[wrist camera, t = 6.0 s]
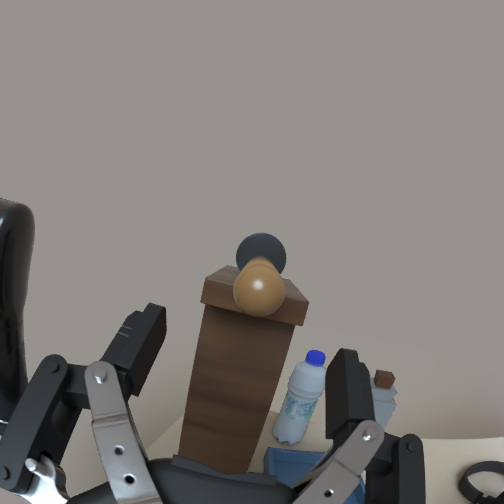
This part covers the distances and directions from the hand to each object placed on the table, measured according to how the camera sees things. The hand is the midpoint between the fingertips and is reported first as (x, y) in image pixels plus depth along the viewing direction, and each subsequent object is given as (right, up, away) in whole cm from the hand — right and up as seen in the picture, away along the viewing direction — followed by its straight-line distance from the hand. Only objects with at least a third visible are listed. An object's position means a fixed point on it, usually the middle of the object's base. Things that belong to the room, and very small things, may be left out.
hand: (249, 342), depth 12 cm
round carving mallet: (+1, +1, +10) cm, 10 cm away
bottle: (+7, -33, +34) cm, 47 cm away
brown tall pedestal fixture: (-7, -30, +16) cm, 35 cm away
